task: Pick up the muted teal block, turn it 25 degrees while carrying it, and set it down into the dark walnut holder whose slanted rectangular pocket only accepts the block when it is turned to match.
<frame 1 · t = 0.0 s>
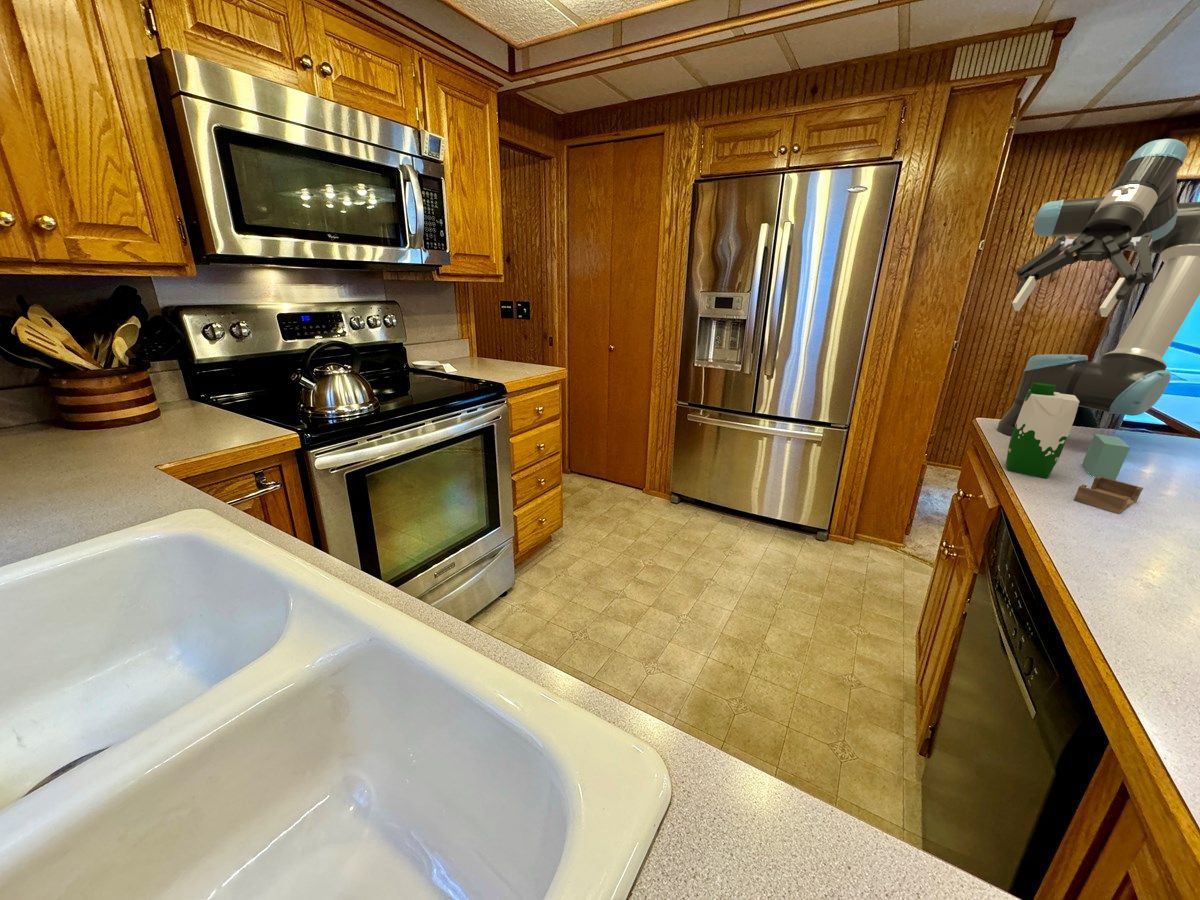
hand: (1056, 309, 94), 36 cm above the counter, tool tilted 35°, fingers open, 13 cm apart
key block: (1097, 472, 112), on the counter
milk carton: (1025, 471, 112), on the counter
holder: (1105, 500, 97), on the counter
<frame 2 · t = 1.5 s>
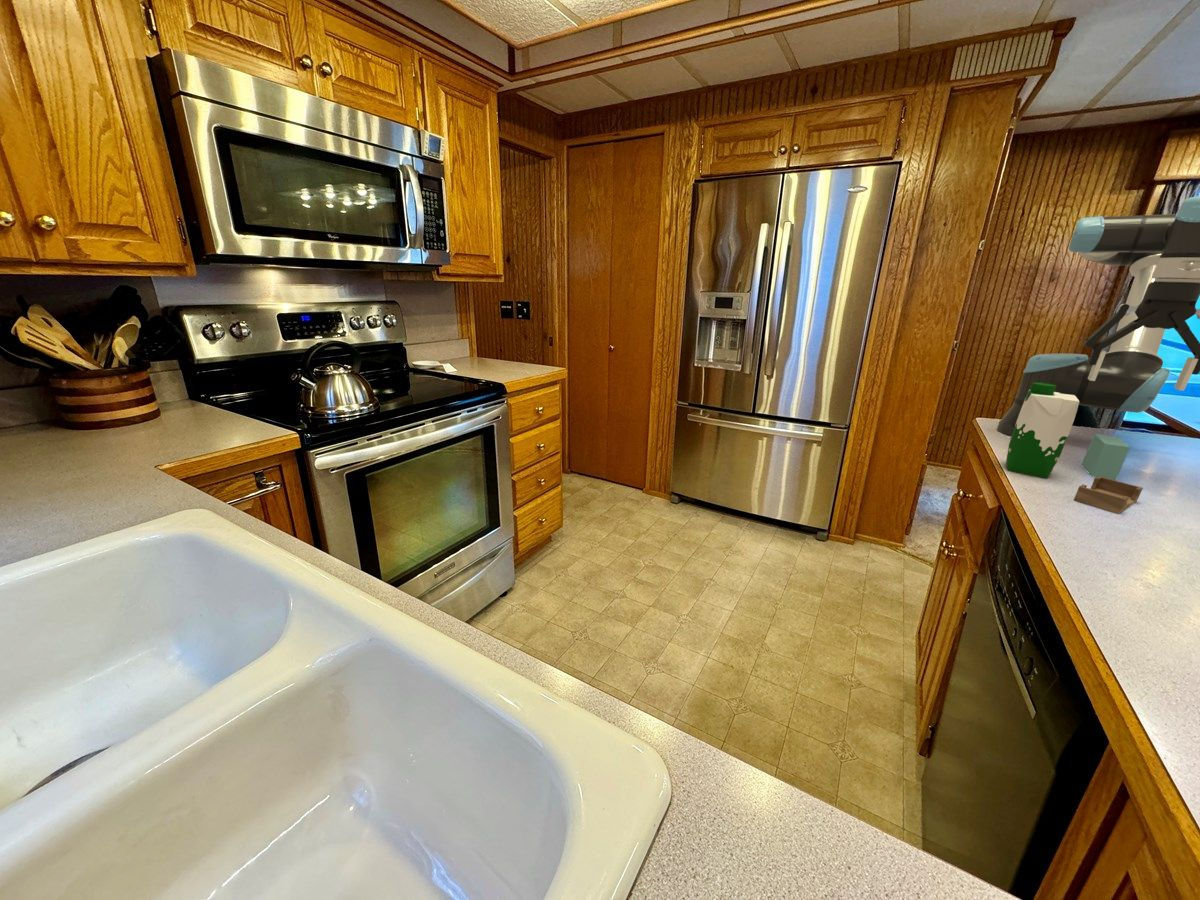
hand: (1133, 384, 104), 21 cm above the counter, tool pointing down, fingers open, 13 cm apart
nothing on the counter moved.
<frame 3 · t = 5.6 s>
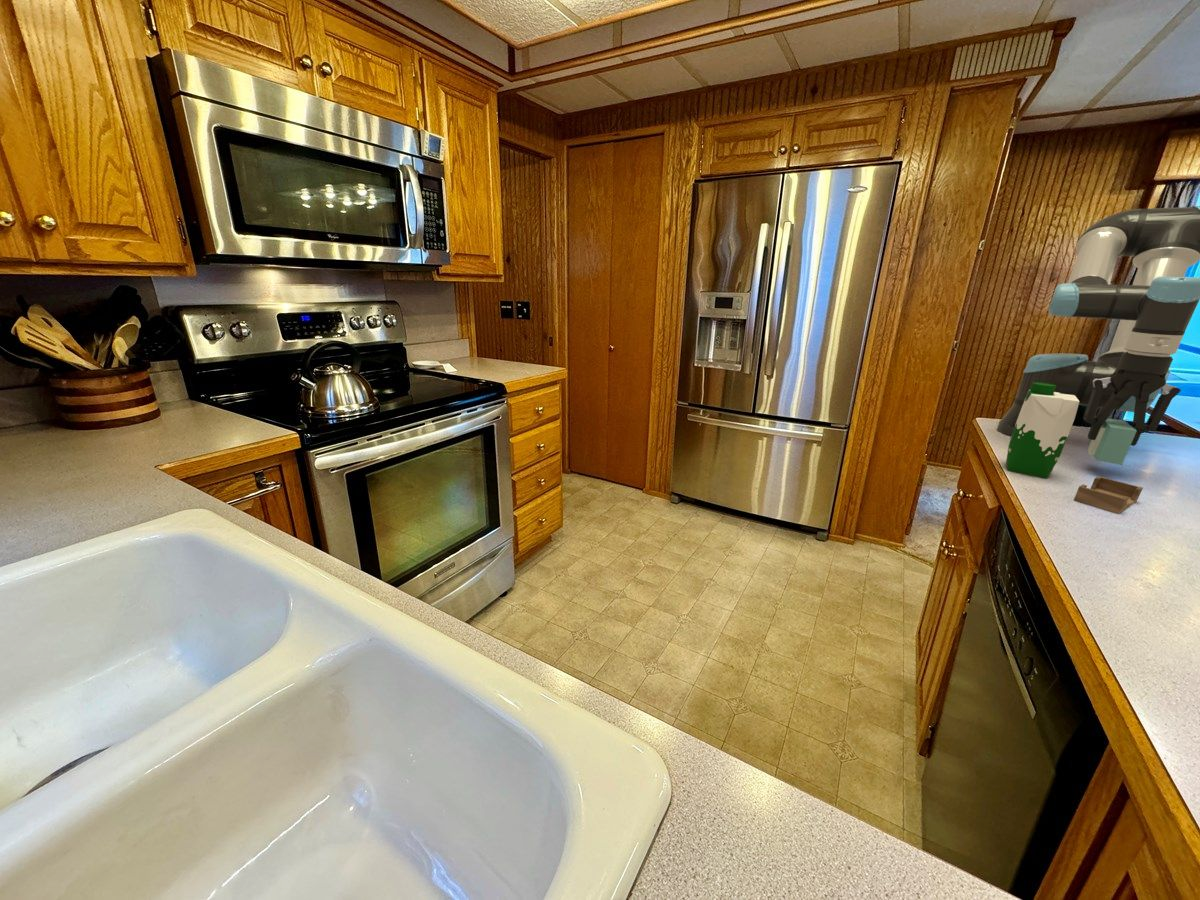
hand: (1104, 455, 111), 4 cm above the counter, tool pointing down, fingers closed on key block, 4 cm apart
key block: (1103, 456, 111), point 4 cm above the counter, touching gripper
everything else where it was.
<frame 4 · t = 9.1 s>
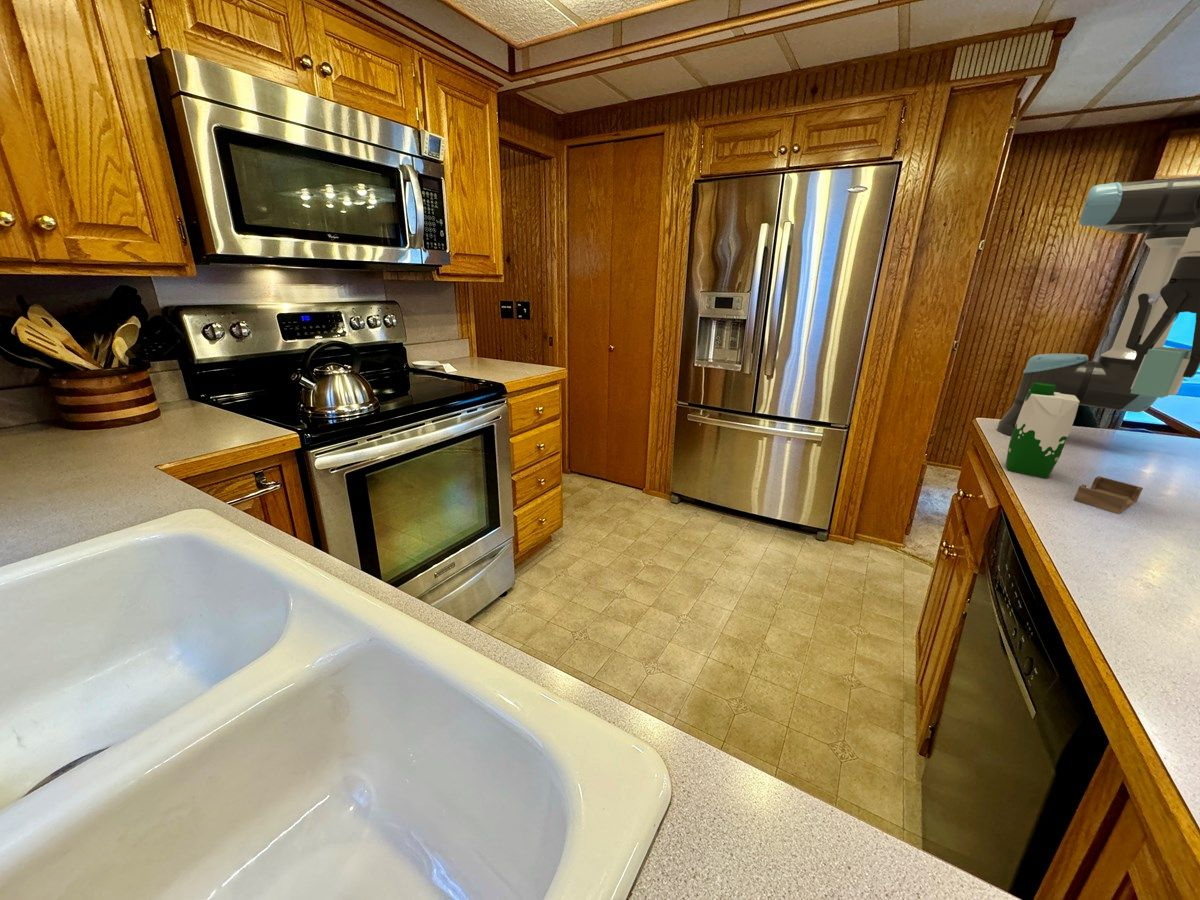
hand: (1153, 391, 89), 22 cm above the counter, tool pointing down, fingers closed on key block, 4 cm apart
key block: (1152, 393, 89), point 22 cm above the counter, touching gripper
everything else where it was.
when the fingers open (2 cm above the counter, at t = 12.6 s): key block drops 1 cm, resting on holder.
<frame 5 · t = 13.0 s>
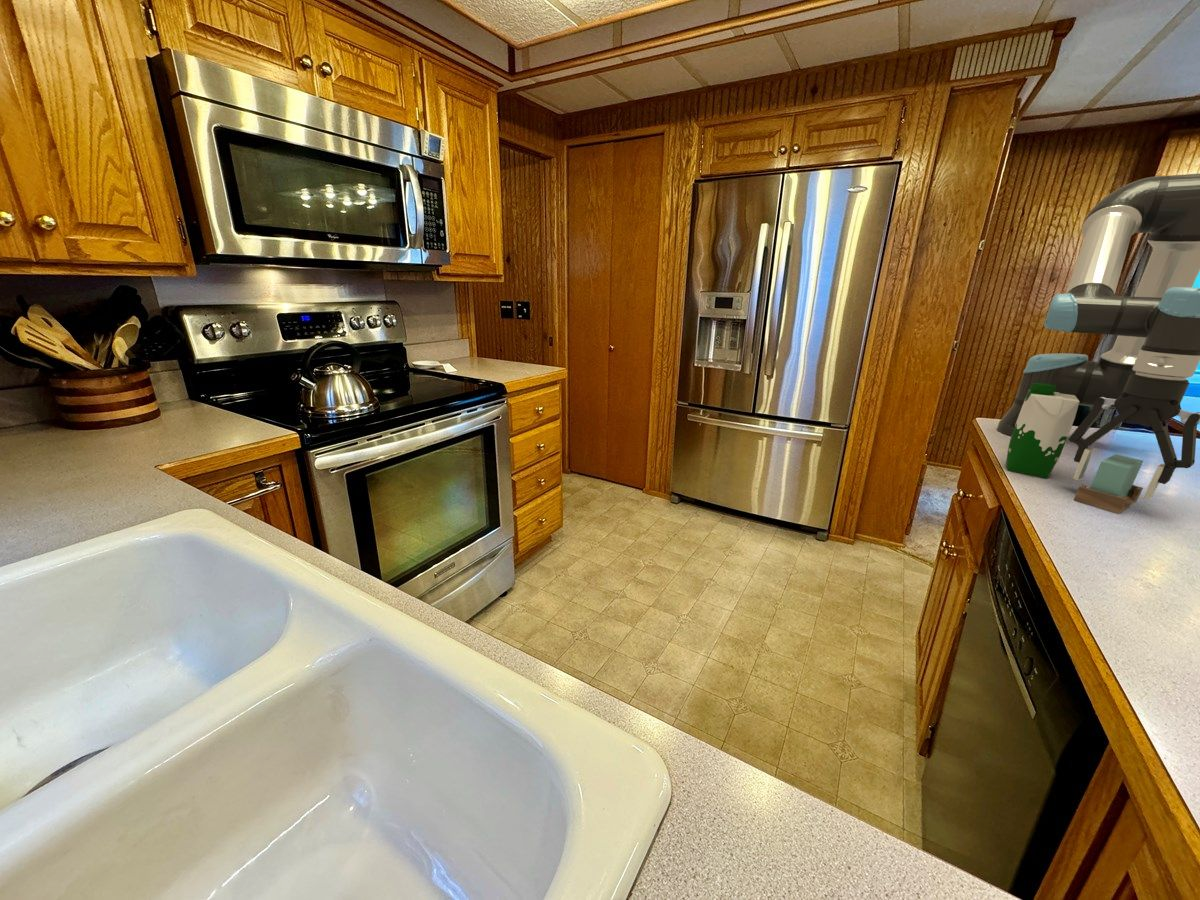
hand: (1111, 487, 96), 3 cm above the counter, tool pointing down, fingers open, 9 cm apart
key block: (1106, 497, 97), point 1 cm above the counter, touching holder
everything else where it was.
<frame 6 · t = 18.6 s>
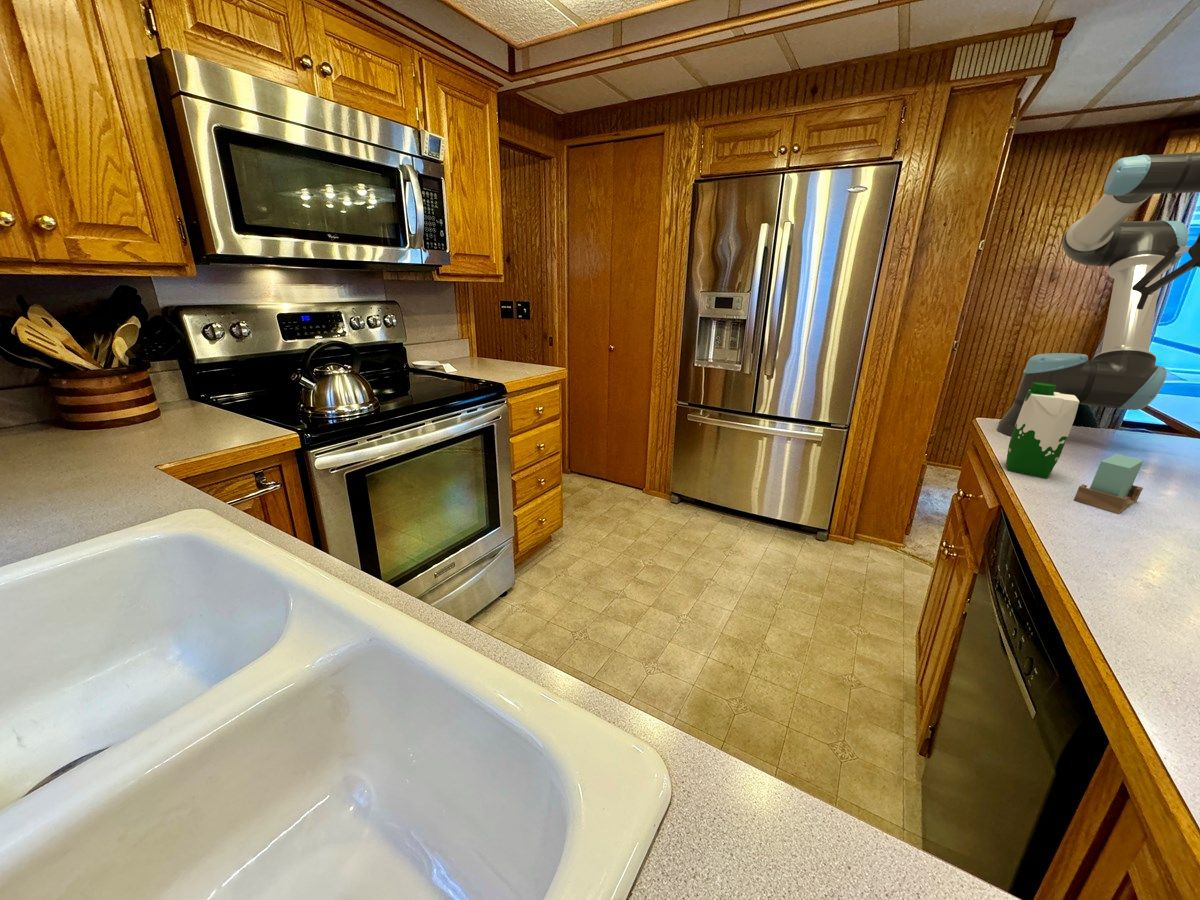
hand: (1185, 329, 101), 33 cm above the counter, tool pointing down, fingers open, 13 cm apart
nothing on the counter moved.
at the end: key block 0.1 cm off-centre on the holder, point 0.6 cm above the holder's base; key block tilted 0°; the gripper is holding nothing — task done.
